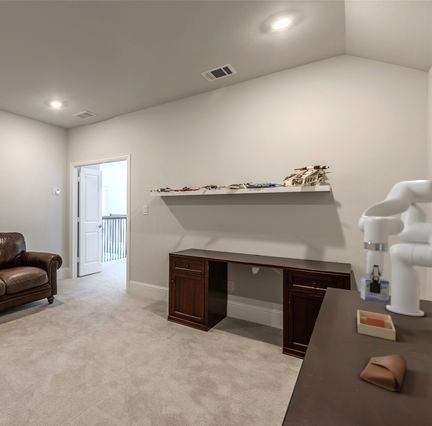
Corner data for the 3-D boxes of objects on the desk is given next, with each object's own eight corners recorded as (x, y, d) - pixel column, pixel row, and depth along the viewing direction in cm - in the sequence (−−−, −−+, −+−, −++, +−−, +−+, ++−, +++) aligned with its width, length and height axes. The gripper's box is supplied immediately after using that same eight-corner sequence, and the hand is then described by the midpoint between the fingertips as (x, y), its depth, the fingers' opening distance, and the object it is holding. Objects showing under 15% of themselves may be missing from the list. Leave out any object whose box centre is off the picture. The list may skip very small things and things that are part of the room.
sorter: (357, 318, 130) (357, 309, 130) (389, 324, 123) (390, 315, 123) (357, 332, 114) (358, 323, 114) (395, 340, 107) (395, 330, 107)
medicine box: (364, 300, 122) (365, 279, 122) (360, 297, 126) (360, 277, 126) (389, 303, 119) (389, 281, 118) (384, 300, 123) (384, 279, 123)
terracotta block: (366, 326, 118) (366, 314, 118) (383, 329, 115) (383, 317, 115) (366, 330, 114) (367, 317, 114) (384, 334, 111) (384, 320, 111)
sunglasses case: (369, 356, 95) (383, 341, 92) (394, 375, 90) (411, 361, 88) (358, 377, 83) (375, 361, 80) (387, 400, 78) (406, 385, 76)
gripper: (363, 244, 131) (362, 285, 131) (364, 248, 118) (363, 294, 118) (386, 246, 126) (385, 288, 126) (390, 250, 113) (389, 297, 113)
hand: (374, 290), depth 122 cm, fingers closed on medicine box, 5 cm apart
